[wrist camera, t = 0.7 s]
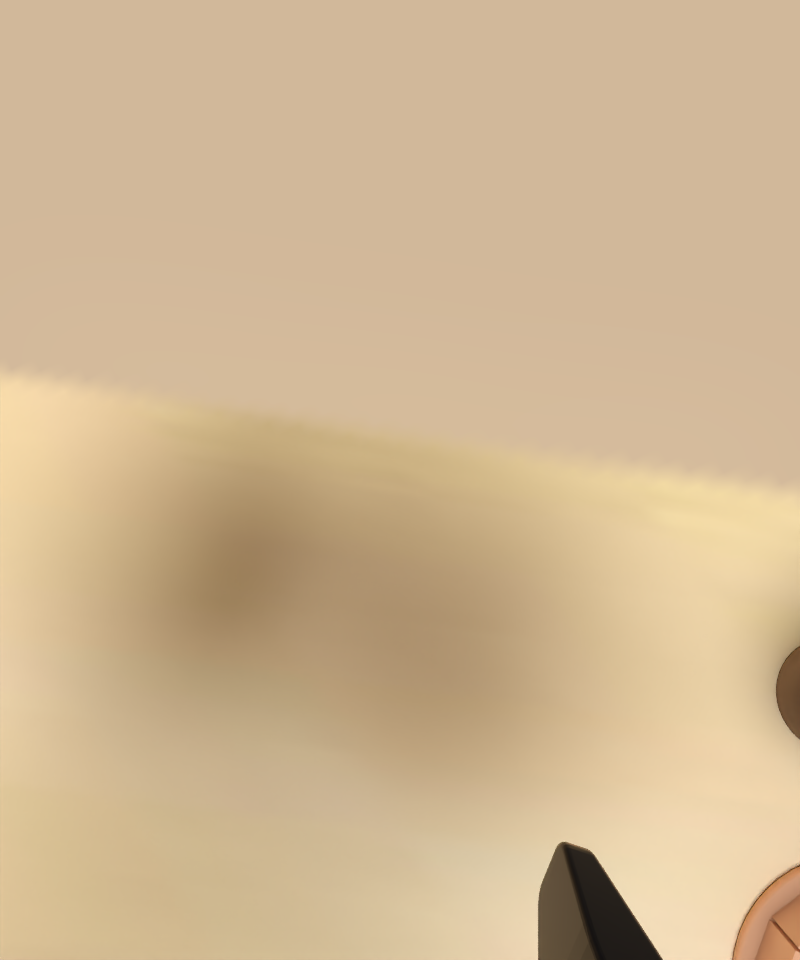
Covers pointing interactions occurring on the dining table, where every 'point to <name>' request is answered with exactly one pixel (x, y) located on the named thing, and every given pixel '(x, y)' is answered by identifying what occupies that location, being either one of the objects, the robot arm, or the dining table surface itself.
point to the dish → (773, 923)
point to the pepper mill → (790, 692)
